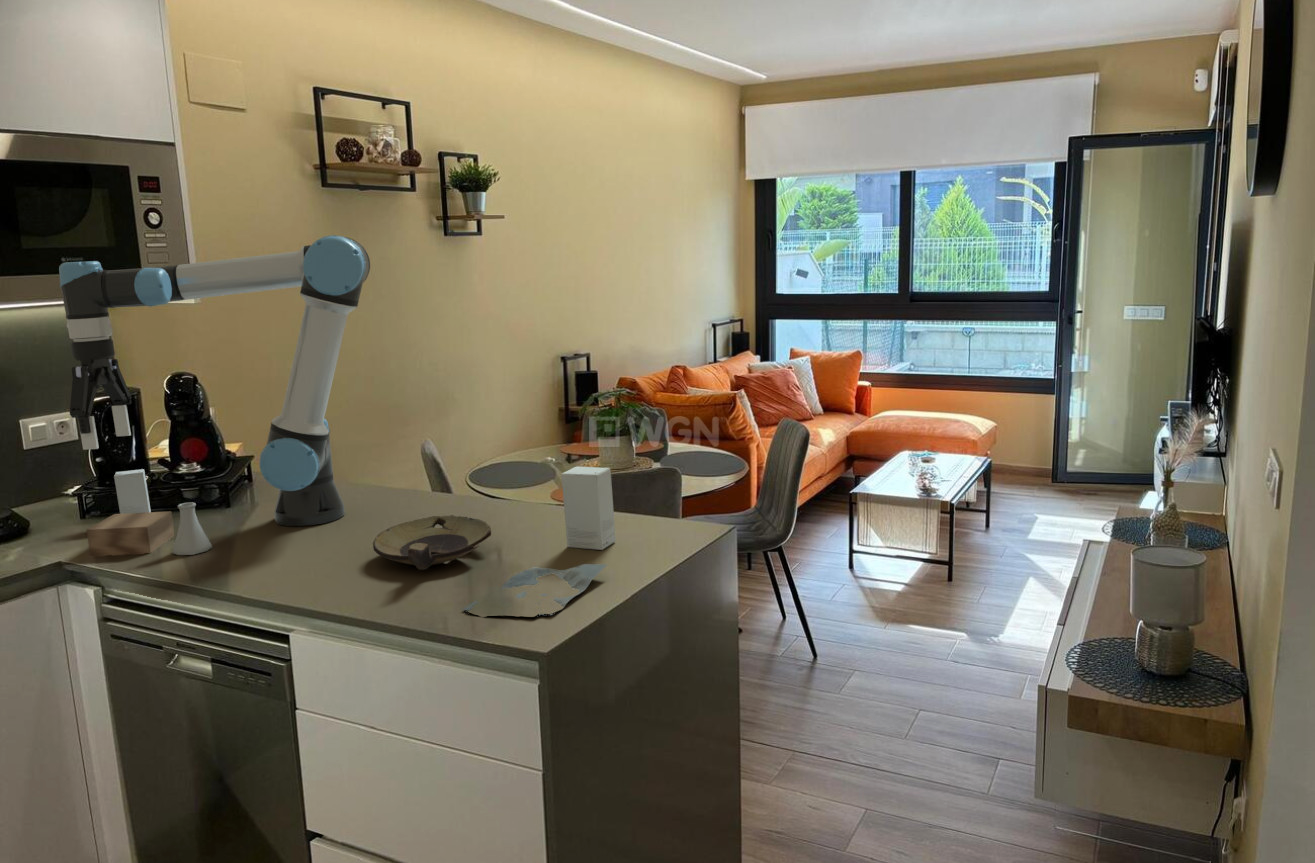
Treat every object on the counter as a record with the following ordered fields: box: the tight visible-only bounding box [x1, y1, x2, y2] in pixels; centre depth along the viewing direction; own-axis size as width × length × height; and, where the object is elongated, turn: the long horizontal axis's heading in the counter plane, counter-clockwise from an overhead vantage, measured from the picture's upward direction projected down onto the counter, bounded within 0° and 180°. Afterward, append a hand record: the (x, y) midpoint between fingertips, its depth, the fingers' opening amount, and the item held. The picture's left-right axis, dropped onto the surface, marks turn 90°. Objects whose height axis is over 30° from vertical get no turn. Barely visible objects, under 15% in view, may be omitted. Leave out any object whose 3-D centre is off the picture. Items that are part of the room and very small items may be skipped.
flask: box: [171, 502, 213, 556], centre depth 203 cm, size 7×7×10 cm
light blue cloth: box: [462, 563, 608, 616], centre depth 172 cm, size 24×16×2 cm, turn 157°
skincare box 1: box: [113, 468, 152, 514], centre depth 226 cm, size 6×4×12 cm
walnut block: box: [86, 510, 176, 557], centre depth 208 cm, size 12×12×6 cm
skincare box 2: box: [561, 465, 617, 551], centre depth 198 cm, size 8×7×16 cm
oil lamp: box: [372, 514, 492, 571], centre depth 191 cm, size 22×30×8 cm
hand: (107, 442), depth 203 cm, fingers open, 13 cm apart
